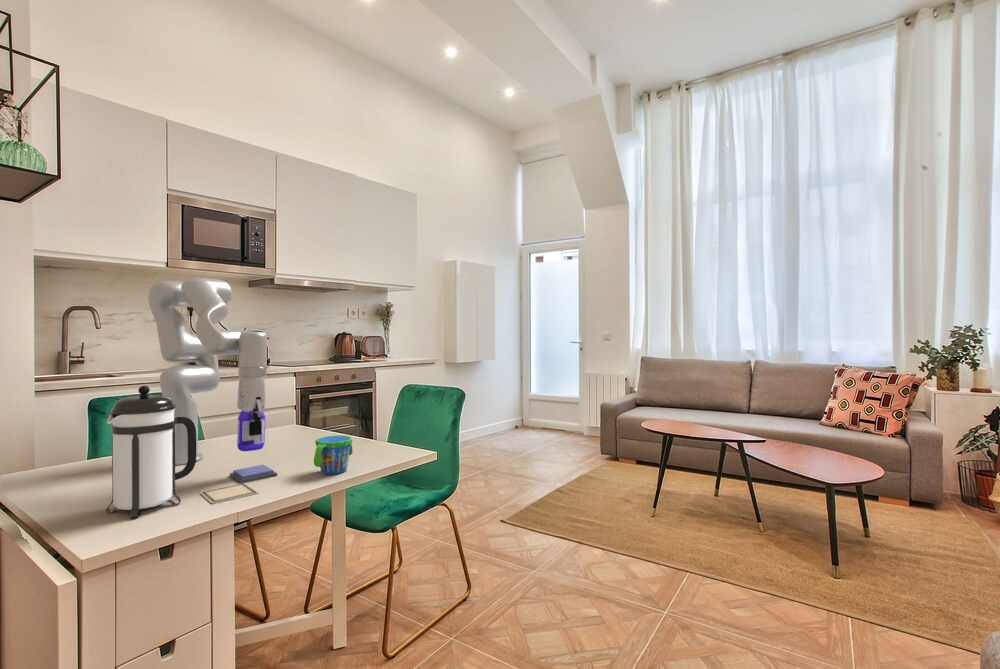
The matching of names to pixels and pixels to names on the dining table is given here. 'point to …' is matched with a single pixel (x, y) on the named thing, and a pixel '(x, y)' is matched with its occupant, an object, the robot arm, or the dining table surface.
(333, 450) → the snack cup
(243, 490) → the marked card
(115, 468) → the coffee press
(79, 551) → the dining table surface
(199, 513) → the dining table surface
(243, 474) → the ink pad
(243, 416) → the bottle
